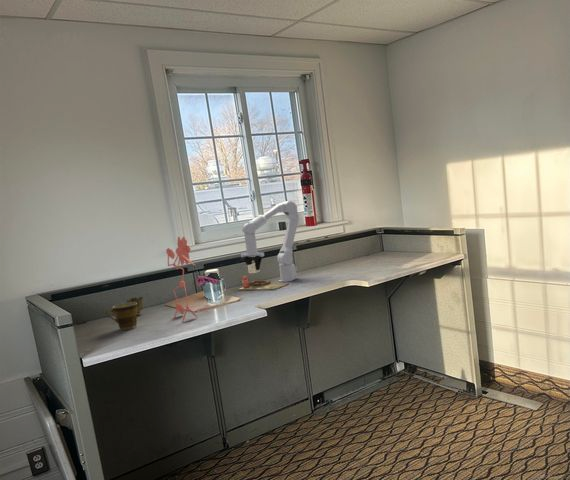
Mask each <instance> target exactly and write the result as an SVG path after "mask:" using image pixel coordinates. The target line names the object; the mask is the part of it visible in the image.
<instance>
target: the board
mask: <svg viewBox="0 0 570 480" xmlns="http://www.w3.org/2000/svg"><path fill="white" fill-rule="evenodd" d="M289 285H290V283H271V280H253V281H249V288H243V286H242V287H240V288H238V291H277V290H278V289H281V288H284V287H286V286H289Z"/></svg>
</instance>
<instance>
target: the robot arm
mask: <svg viewBox="0 0 570 480" xmlns="http://www.w3.org/2000/svg"><path fill="white" fill-rule="evenodd" d="M278 213H283V214H284V215H285V216H286V217H287V218H288V222H287V226H286V230H285V235H284V239H283V243H282V247H280V250H279V253H278V254H277V256H276V260H277V262H278V263H279V264H278V266H279V268H278V269H279V275H280V279H279V280H277V282H281V283H282V282H284V283H286V282H293V281H295V280H298V279H299V277H297V276H298V275H297V274H298V273H297V267H296V265H295V264H294V263H293V261H294V257H293V253H294V251H293V245H294V241H295V237H296V233H297V228H298V223H299V220H300V217H299V211H298V206H297V205H296V203H295V201H292V200H288V201H286V200H284V201H281V202H280V203H278V204H276V205H275V206H273V207H272V208H271V209H269V210H268V211H266V213H264V214H257V215H256V216H255V217H254V218H253V219H251V220H248V223H244V224H243V226H242V229H241V230H242V232H243V233H244V242H245V250H246V252H244V253H241V254H240V258H243V261H244V263H245V264H246V266H247V265H250V264H253V261H254V264H255V266H256V270H260V271H261V263H262V260H263V257H265V252H258V247H257V241H256V240H257V239H256V231H257V230H259V229H260V228H261V227H263V226H265V225H266V224H267V221H268V220H269V219H270V218H272V217H273V216H275V215H277V214H278Z"/></svg>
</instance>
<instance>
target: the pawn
mask: <svg viewBox="0 0 570 480" xmlns="http://www.w3.org/2000/svg"><path fill="white" fill-rule="evenodd" d="M241 282H242V287H243V288H249V282H250V281H249V278H248V276H247V275H243V276H242V279H241Z"/></svg>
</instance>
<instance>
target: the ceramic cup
mask: <svg viewBox="0 0 570 480" xmlns="http://www.w3.org/2000/svg"><path fill="white" fill-rule="evenodd" d="M108 312H111V313H113V314H114V317H115V318H113V317H112V316H110V315H108V314H107V313H108ZM105 316H106V317H107V318H110V319H111V320H113V321H115V322H116V324H117V325H118V328H119V330H120V331H122V332H123V331H129V330H134V329H135V328H137V324H138V322H137V321H138V319H137V318H138V316H137V303H136V302H128V303H127V302H122V303H118V304H115V305H113V306H112V309H107V310H106V311H105Z"/></svg>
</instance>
